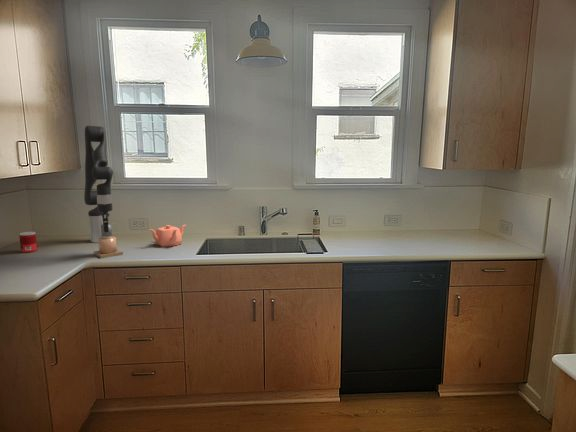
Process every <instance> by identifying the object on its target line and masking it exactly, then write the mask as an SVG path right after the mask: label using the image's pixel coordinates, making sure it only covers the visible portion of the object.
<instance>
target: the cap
mask: <svg viewBox="0 0 576 432" xmlns="http://www.w3.org/2000/svg"><path fill="white" fill-rule="evenodd" d="M108 230H109V232H104V225H101V235H102V236H113V225H112V224H111V223H109V225H108Z"/></svg>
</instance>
